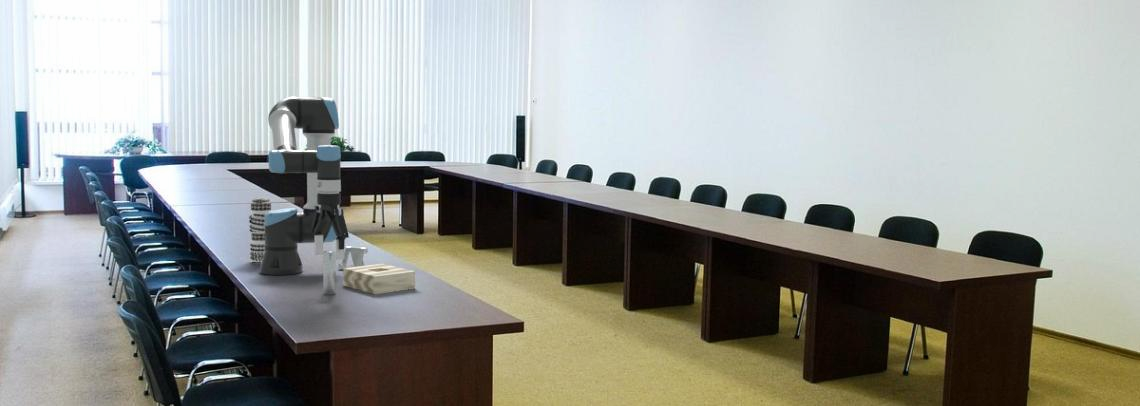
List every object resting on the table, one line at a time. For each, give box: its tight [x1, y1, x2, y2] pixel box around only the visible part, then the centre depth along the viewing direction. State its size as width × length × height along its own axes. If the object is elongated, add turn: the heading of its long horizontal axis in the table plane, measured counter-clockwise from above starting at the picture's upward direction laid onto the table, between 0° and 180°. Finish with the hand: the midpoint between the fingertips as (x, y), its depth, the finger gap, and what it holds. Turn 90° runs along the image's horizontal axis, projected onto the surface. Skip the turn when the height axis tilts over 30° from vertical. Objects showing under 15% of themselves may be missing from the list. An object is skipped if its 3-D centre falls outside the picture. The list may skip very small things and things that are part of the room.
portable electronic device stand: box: [337, 245, 369, 271], centre depth 361 cm, size 9×8×8 cm
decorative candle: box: [248, 197, 273, 263], centre depth 374 cm, size 9×9×25 cm
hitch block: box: [342, 263, 416, 295], centre depth 327 cm, size 20×16×6 cm
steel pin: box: [322, 250, 337, 296], centre depth 314 cm, size 4×4×14 cm
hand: (329, 257), depth 313 cm, fingers open, 13 cm apart
